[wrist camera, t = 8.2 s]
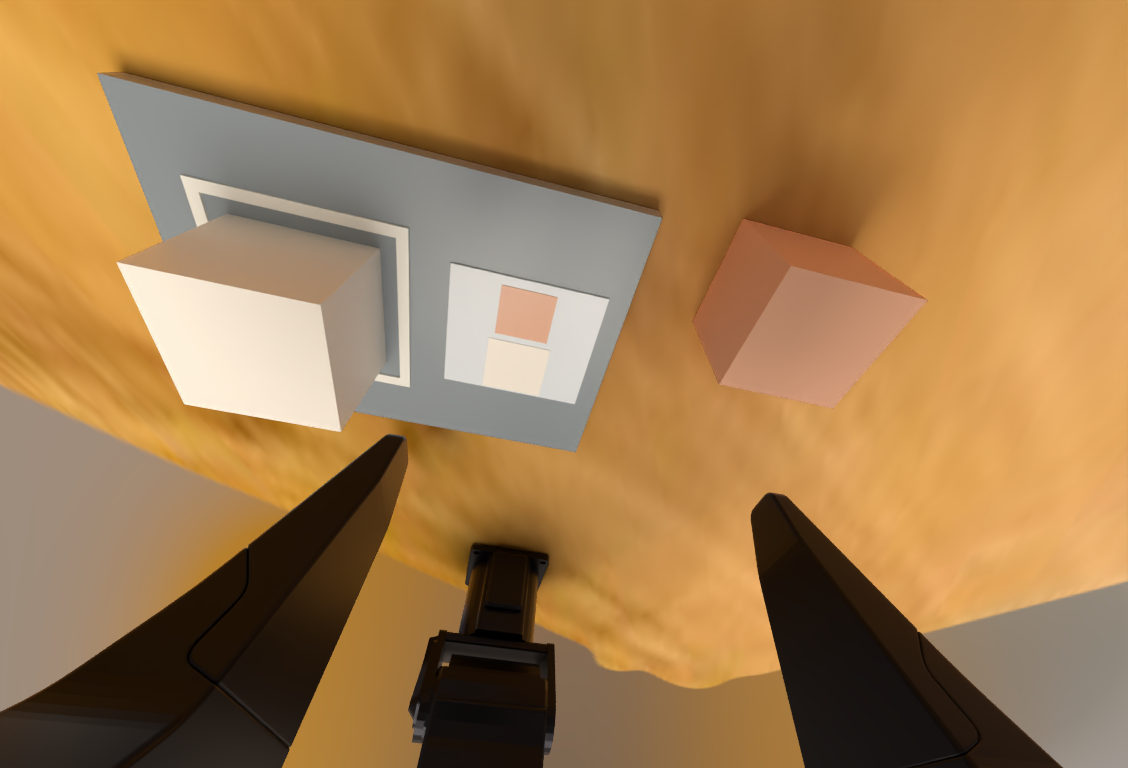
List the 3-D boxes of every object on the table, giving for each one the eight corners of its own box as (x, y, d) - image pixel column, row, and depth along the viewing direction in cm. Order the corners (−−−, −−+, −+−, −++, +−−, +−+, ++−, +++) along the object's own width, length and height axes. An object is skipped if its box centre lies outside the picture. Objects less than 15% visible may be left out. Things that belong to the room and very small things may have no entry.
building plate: (575, 440, 25) (575, 453, 24) (232, 376, 23) (218, 388, 22) (658, 210, 17) (663, 218, 16) (122, 71, 14) (93, 73, 14)
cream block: (386, 361, 21) (341, 432, 17) (261, 336, 20) (184, 404, 16) (380, 248, 17) (320, 305, 13) (227, 213, 16) (116, 262, 12)
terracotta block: (785, 341, 21) (832, 408, 17) (692, 320, 20) (719, 384, 16) (850, 246, 17) (927, 300, 14) (742, 218, 17) (791, 265, 13)
